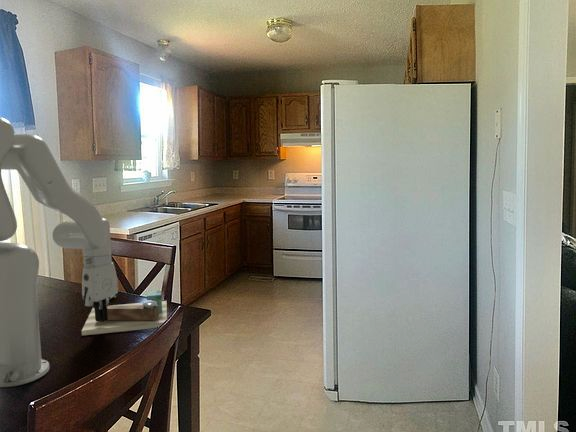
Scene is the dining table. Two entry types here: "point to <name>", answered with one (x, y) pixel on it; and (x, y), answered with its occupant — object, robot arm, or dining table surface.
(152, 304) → the disc
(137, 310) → the link
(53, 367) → the dining table surface
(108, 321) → the board
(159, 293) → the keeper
